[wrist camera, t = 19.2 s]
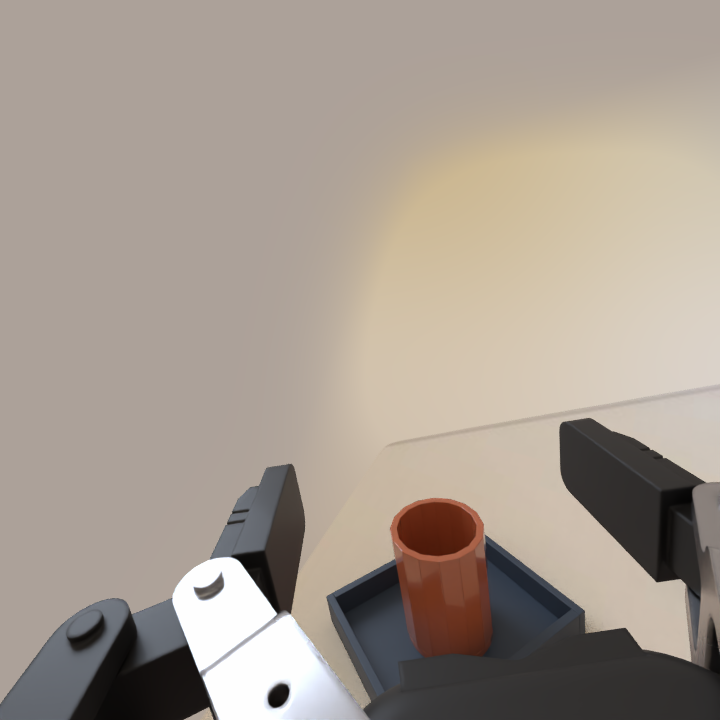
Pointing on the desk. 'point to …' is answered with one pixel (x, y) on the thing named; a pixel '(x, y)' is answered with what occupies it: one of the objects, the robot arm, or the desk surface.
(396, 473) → the desk surface
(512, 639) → the tray
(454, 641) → the tumbler
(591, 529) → the desk surface
